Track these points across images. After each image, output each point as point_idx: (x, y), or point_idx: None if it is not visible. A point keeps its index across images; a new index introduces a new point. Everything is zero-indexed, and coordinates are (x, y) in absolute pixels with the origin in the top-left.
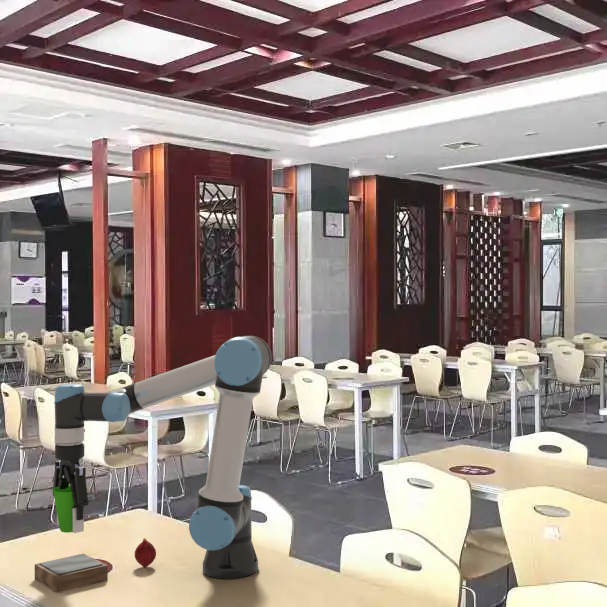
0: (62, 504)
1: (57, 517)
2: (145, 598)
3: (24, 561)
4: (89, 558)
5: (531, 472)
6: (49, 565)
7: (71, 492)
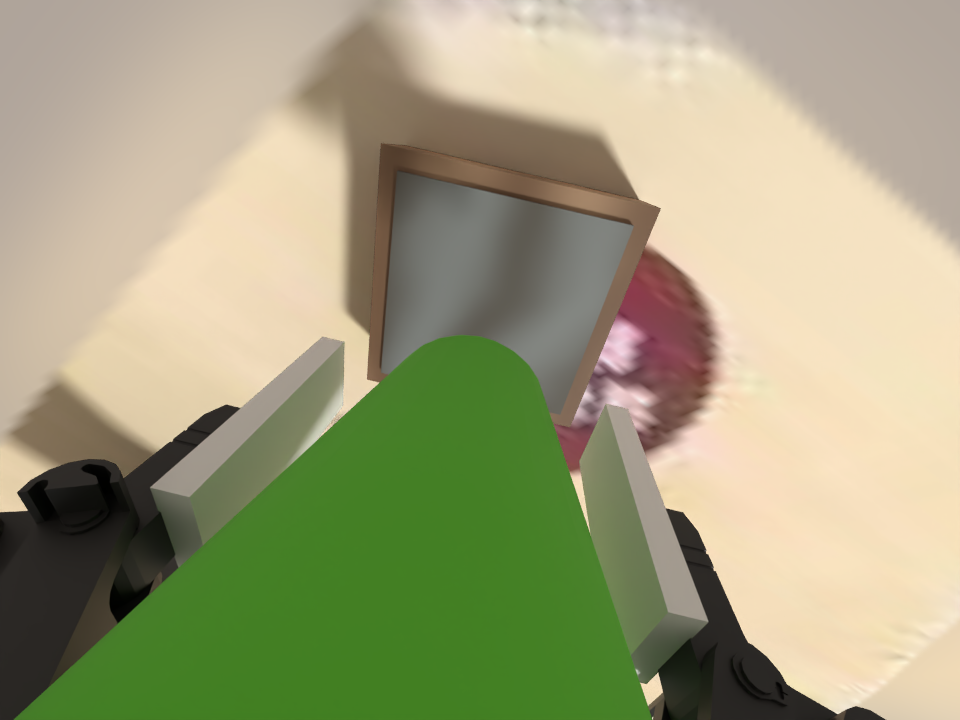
0: (291, 492)
1: (632, 450)
2: (155, 305)
3: (876, 329)
4: None
5: None
6: (554, 231)
7: None
